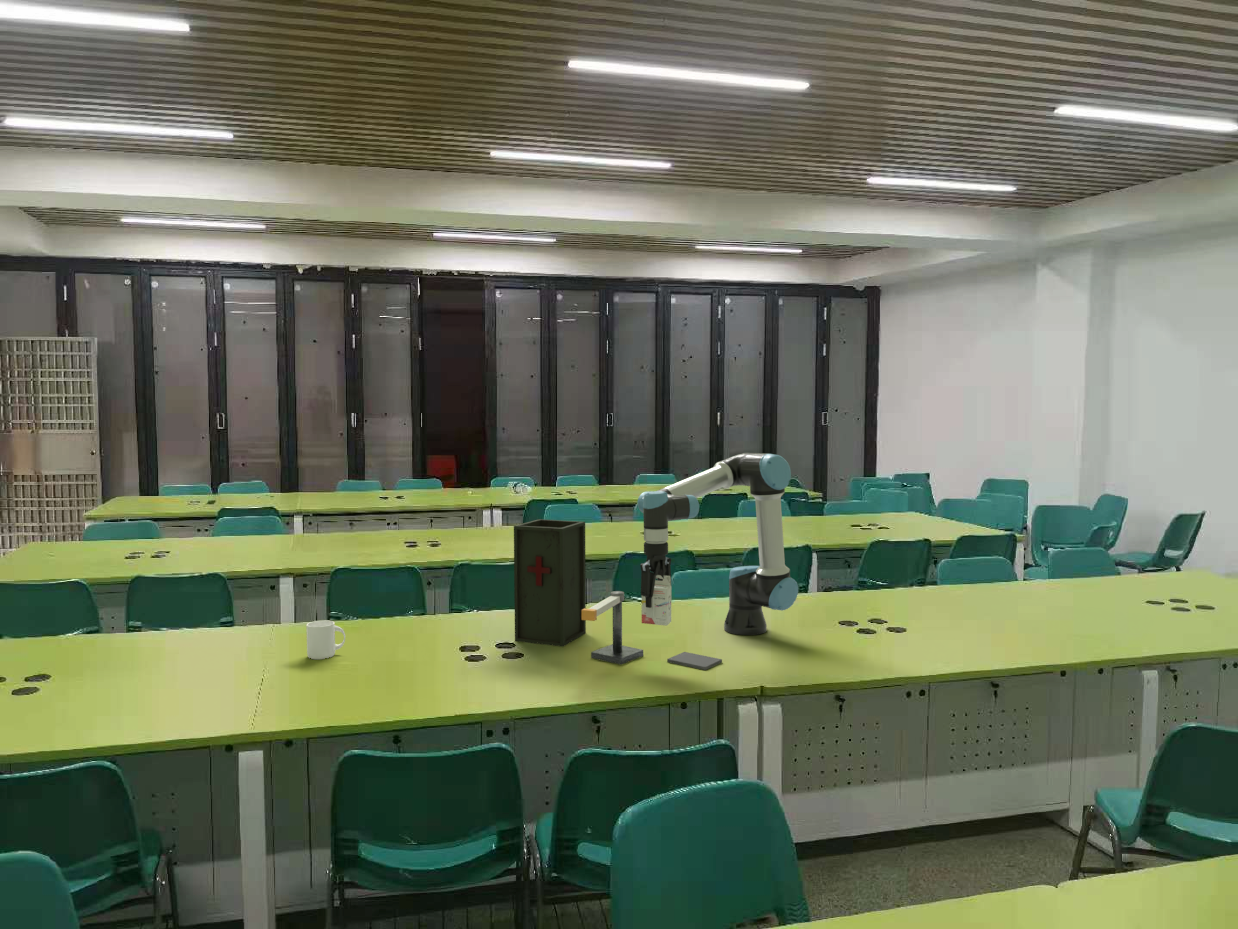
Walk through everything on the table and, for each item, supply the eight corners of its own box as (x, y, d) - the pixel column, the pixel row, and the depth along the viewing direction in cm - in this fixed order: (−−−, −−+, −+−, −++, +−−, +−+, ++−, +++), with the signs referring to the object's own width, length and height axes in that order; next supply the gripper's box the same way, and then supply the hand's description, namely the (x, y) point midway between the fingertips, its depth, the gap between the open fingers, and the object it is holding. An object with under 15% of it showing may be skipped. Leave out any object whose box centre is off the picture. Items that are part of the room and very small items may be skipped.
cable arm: (613, 600, 279) (613, 590, 279) (626, 601, 277) (626, 591, 277) (580, 619, 254) (580, 609, 254) (594, 621, 252) (594, 610, 252)
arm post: (613, 649, 286) (613, 596, 284) (643, 655, 278) (643, 601, 277) (591, 658, 276) (591, 602, 275) (621, 664, 269) (621, 608, 268)
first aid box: (514, 641, 296) (513, 525, 293) (539, 628, 313) (538, 519, 310) (563, 646, 289) (562, 528, 286) (585, 633, 306) (585, 521, 303)
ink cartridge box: (640, 623, 266) (640, 576, 265) (645, 619, 271) (645, 573, 270) (667, 626, 264) (667, 578, 263) (672, 622, 268) (671, 575, 267)
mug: (348, 656, 279) (347, 623, 278) (309, 661, 273) (308, 628, 272) (343, 649, 286) (342, 617, 286) (305, 654, 281) (304, 622, 280)
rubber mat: (684, 654, 280) (684, 651, 279) (721, 662, 271) (721, 659, 271) (667, 662, 272) (667, 659, 272) (705, 670, 263) (705, 667, 263)
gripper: (663, 536, 275) (663, 607, 277) (627, 544, 260) (628, 620, 262) (682, 538, 271) (683, 610, 273) (648, 547, 256) (648, 623, 257)
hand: (656, 615), depth 267 cm, fingers closed on ink cartridge box, 6 cm apart
